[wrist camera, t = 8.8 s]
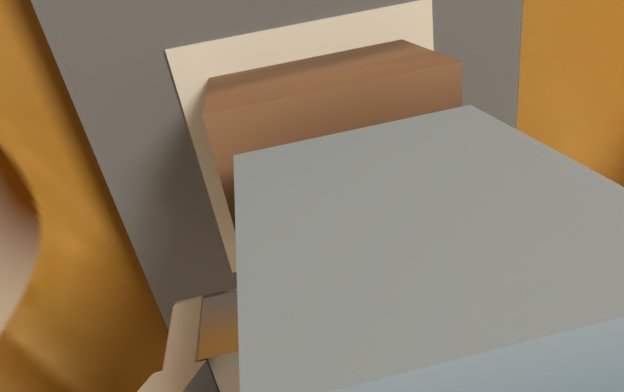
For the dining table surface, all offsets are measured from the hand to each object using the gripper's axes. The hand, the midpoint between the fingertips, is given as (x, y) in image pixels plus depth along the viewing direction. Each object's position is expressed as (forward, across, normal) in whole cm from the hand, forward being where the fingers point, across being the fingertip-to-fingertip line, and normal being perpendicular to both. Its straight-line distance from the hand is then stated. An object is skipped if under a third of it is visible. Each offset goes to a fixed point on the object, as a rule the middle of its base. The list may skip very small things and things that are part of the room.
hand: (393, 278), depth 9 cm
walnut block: (+7, 0, 0) cm, 7 cm away
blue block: (+2, 0, 0) cm, 2 cm away
